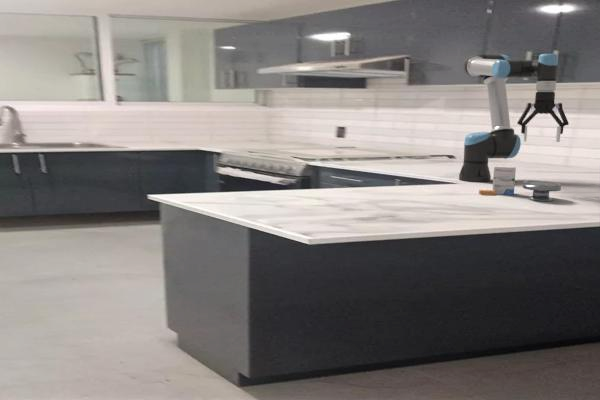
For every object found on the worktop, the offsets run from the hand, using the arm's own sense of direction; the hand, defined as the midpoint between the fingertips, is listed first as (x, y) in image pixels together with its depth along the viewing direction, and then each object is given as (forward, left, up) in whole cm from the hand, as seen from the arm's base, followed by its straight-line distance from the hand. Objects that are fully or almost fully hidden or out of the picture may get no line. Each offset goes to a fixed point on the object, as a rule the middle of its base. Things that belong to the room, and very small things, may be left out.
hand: (541, 141), depth 231 cm
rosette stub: (+7, -19, -22) cm, 30 cm away
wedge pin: (-14, -22, -22) cm, 34 cm away
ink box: (-9, -16, -22) cm, 29 cm away
